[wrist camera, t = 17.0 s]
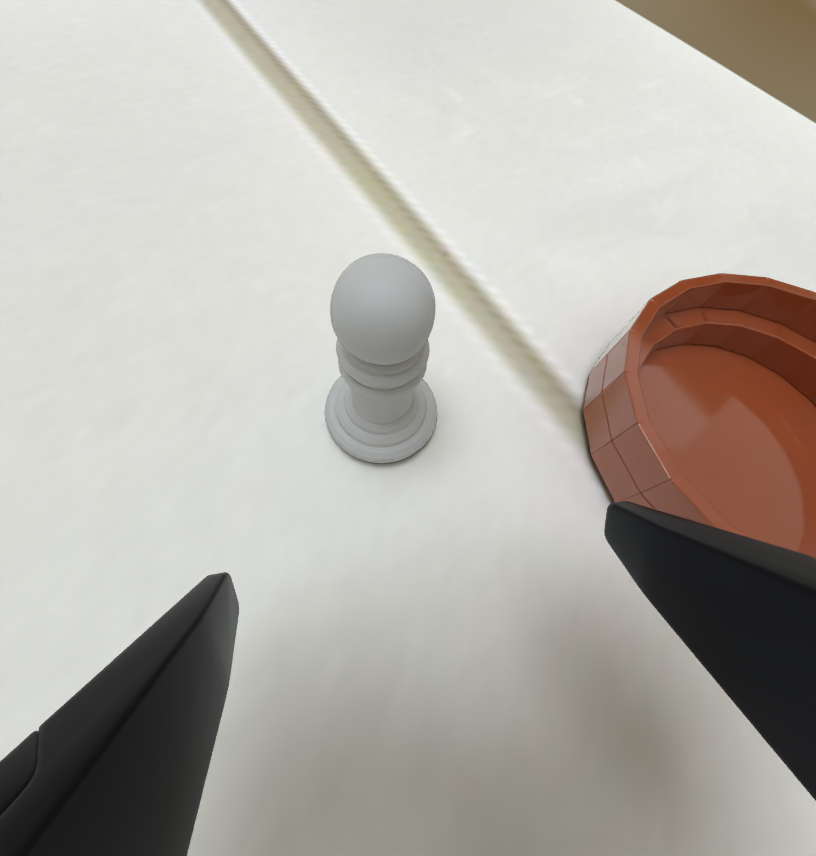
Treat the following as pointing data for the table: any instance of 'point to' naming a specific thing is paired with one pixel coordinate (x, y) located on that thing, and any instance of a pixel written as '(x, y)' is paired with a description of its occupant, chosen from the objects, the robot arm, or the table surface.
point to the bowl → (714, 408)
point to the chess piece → (382, 359)
